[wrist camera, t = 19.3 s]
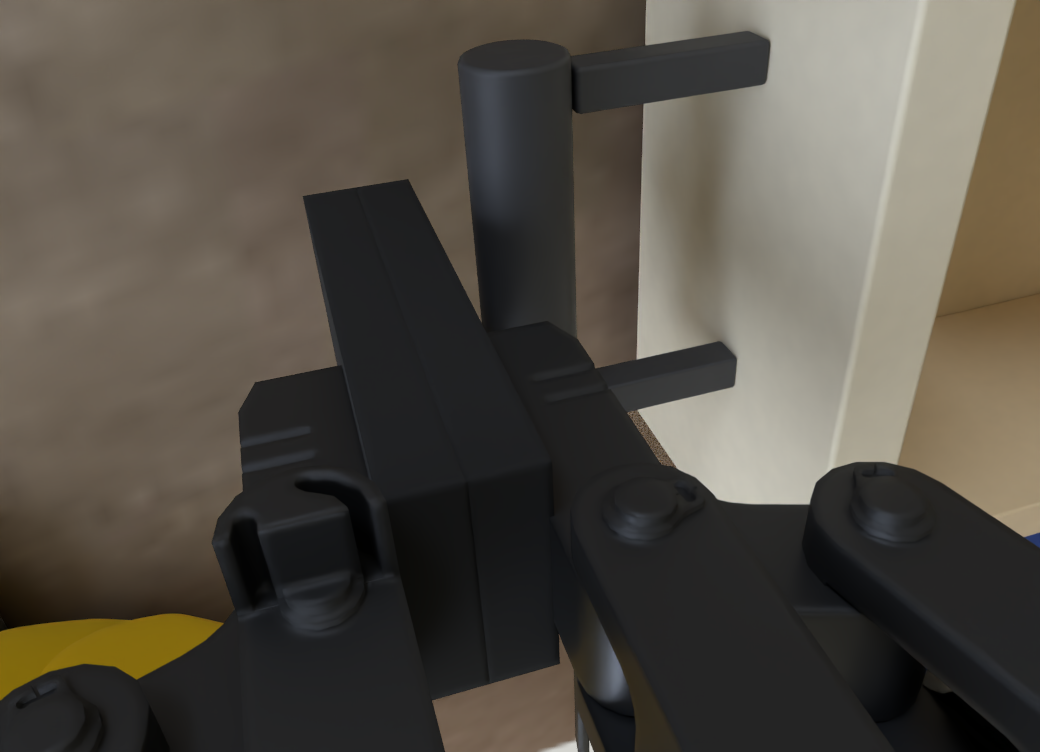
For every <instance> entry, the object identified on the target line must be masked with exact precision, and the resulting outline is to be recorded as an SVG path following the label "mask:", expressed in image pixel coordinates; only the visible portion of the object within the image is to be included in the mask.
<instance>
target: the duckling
mask: <svg viewBox="0 0 1040 752" xmlns="http://www.w3.org/2000/svg"><path fill="white" fill-rule="evenodd" d="M223 624H224V623H221V622H216V621H212V620H208V619H204V618H199V617H195V616H190V615H185V614H160V615H155V616H149V617H144V618H139V619H134V620H119V619H84V620H71V621H62V622H53V623H43V624H36V625H29V626H23V627H17V628H12V629H8V630H4V631H1V632H0V700H2V699H3V698H4V697H5V696H6V695H8V694H9V693H10V692H11V691H12V690H14V689H16V688H18V687H20V686H22V685H24V684H26V683H28V682H30V681H32V680H33V679H35V678H37V677H39V676H41V675H43V674H45V673H47V672H50V671H54V670H58V669H63V668H67V667H72V666H76V665H80V664H94V665H104V666H115V667H117V668H119V669H120V670H122V671H123V672H125V673H127V674H128V675H130V676H132V677H133V678H135V679H136V680H137V679H139V678H141V677H142V676H144V675H146V674H148V673H150V672H152V671H154V670H156V669H157V668H159V667H161V666H163V665H165V664H167V663H169V662H171V661H172V660H174V659H176V658H178V657H180V656H182V655H183V654H185V653H186V652H188V651H190V650H191V649H193V648H194V647H196V646H197V645H199V644H200V643H202V642H204V641H205V640H206V639H207V638H208V637H210V636H211V635H212V634H213V633H214V632H215V631H216V630H217V629H218V628H219V627H220V626H222V625H223Z"/></svg>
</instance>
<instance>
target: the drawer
mask: <svg viewBox="0 0 1040 752" xmlns="http://www.w3.org/2000/svg"><path fill="white" fill-rule="evenodd" d="M458 73H459V84H460V94H461V105H462V116H463V126H464V137H465V148H466V159H467V169H468V180H469V191H470V201H471V212H472V223H473V233H474V244H475V255H476V265H477V276H478V287H479V297H480V308H481V319H482V325H483V327H484V329H485V331H486V333H489V332H494V331H499V330H504V329H509V328H514V327H519V326H524V325H529V324H534V323H538V322H543V321H548V322H550V323H552V324H553V325H555V326H557V327H558V328H560V329H562V330H563V331H565V332H567V333H568V334H570V335H572V336H573V337H575V338H577V326H576V277H575V229H574V180H573V131H572V109H573V110H574V111H575V112H576V113H579V114H583V113H589V112H596V111H602V110H608V109H615V108H621V107H627V106H633V105H640V104H644V106H643V143H642V180H641V217H640V254H639V292H638V329H637V360H632V361H628V362H623V363H619V364H614V365H610V366H605V367H601V368H596V369H598V370H599V372H600V373H601V375H602V376H603V378H604V379H605V381H606V382H607V385H608V389H611V390H612V391H613V393H614V394H615V396H616V397H617V399H618V400H619V402H620V403H621V405H622V406H623V408H624V409H625V411H626V412H630V411H634V410H637V411H638V412H639V413H640V415H641V416H642V418H643V419H644V421H645V422H646V424H647V425H648V427H649V428H650V429H651V431H652V432H653V434H654V435H655V437H656V438H657V440H658V441H659V443H660V444H661V445H662V447H663V448H664V450H665V451H666V453H667V454H668V456H669V457H670V459H671V460H672V461H673V463H674V464H675V466H676V467H677V469H678V470H680V471H683V472H685V473H687V474H689V475H691V476H694V477H696V478H697V479H698V480H699V481H700V482H701V483H702V484H703V485H704V486H705V487H706V488H708V489H709V490H710V491H711V492H712V493H713V494H714V496H715V497H716V498H717V499H718V500H722V501H726V502H733V503H744V504H810V499H811V496H812V493H813V490H814V487H815V484H816V482H817V481H818V480H819V479H820V478H822V477H823V476H824V475H825V474H826V473H828V472H829V471H830V470H831V469H833V468H837V467H840V466H843V465H847V464H850V463H854V462H887V463H891V464H896V465H900V466H904V467H908V468H912V469H916V470H918V471H920V472H922V473H924V474H926V475H928V476H930V477H932V478H934V479H936V480H938V481H940V482H942V483H943V484H945V485H946V486H948V487H949V488H951V489H952V490H954V491H955V492H957V493H958V494H960V495H961V496H963V497H964V498H966V499H967V500H969V501H970V502H972V503H973V504H975V505H976V506H978V507H979V508H981V509H982V510H984V511H985V512H987V513H988V514H990V515H991V516H993V517H994V518H996V519H997V520H999V521H1000V522H1002V523H1003V524H1005V525H1006V526H1008V527H1009V528H1011V529H1012V530H1014V531H1015V532H1017V533H1018V534H1020V535H1021V536H1023V537H1026V536H1030V535H1033V534H1036V533H1040V0H646V31H645V46H639V47H632V48H625V49H618V50H611V51H604V52H597V53H590V54H583V55H577V56H570V54H569V51H568V50H567V49H566V48H565V47H563V46H561V45H558V44H555V43H551V42H547V41H540V40H506V41H499V42H493V43H488V44H484V45H481V46H478V47H475V48H472V49H470V50H468V51H466V52H464V53H463V54H462V55H461V56H460V58H459V61H458Z"/></svg>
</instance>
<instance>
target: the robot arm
mask: <svg viewBox="0 0 1040 752" xmlns="http://www.w3.org/2000/svg"><path fill="white" fill-rule="evenodd" d="M303 199H304V204H305V209H306V214H307V219H308V224H309V229H310V234H311V238H312V243H313V248H314V253H315V258H316V263H317V268H318V273H319V278H320V283H321V287H322V292H323V297H324V302H325V307H326V312H327V317H328V322H329V327H330V332H331V336H332V341H333V346H334V351H335V356H336V361H337V365H338V366H334V367H330V368H325V369H320V370H315V371H310V372H305V373H300V374H295V375H290V376H285V377H280V378H275V379H270V380H265V381H260V382H255V384H254V386H253V387H252V389H251V391H250V393H249V394H248V396H247V398H246V400H245V401H244V403H243V405H242V407H241V408H240V410H239V412H238V415H239V431H240V444H241V465H242V471H243V474H242V481H243V492H242V493H240V494H239V495H237V496H236V497H235V498H234V500H233V501H232V502H231V503H230V504H229V506H228V507H227V508H226V509H225V511H224V512H223V513H222V514H221V516H220V517H219V518H218V521H217V525H216V528H215V532H214V536H213V540H212V545H213V548H214V551H215V553H216V556H217V559H218V562H219V565H220V568H221V570H222V573H223V576H224V579H225V582H226V585H227V587H228V590H229V593H230V596H231V599H232V602H233V605H234V607H235V609H234V611H233V612H232V613H231V615H230V616H229V617H228V619H227V620H226V621H225V623H224V624H223V625H222V626H220V627H219V628H218V629H217V630H216V631H215V632H214V633H213V634H212V635H211V636H210V637H208V638H207V639H206V640H205V641H204V642H202V643H200V644H199V645H197V646H196V647H194V648H193V649H191V650H190V651H188V652H186V653H185V654H183V655H182V656H180V657H178V658H176V659H174V660H172V661H171V662H169V663H167V664H165V665H163V666H161V667H159V668H157V669H156V670H154V671H152V672H150V673H148V674H146V675H144V676H142V677H141V678H139V679H137V680H136V679H135V678H133V677H132V676H130V675H128V674H127V673H125V672H123V671H122V670H120V669H119V668H117V667H115V666H104V665H94V664H80V665H76V666H72V667H67V668H63V669H58V670H54V671H50V672H47V673H45V674H43V675H41V676H39V677H37V678H35V679H33V680H32V681H30V682H28V683H26V684H24V685H22V686H20V687H18V688H16V689H14V690H12V691H11V692H10V693H9V694H8V695H6V696H5V697H4V698H3V699H2V700H0V752H445V750H444V746H443V742H442V738H441V734H440V730H439V726H438V722H437V718H436V715H435V711H434V707H433V703H432V700H435V699H438V698H442V697H445V696H449V695H452V694H456V693H459V692H463V691H466V690H470V689H473V688H477V687H480V686H484V685H487V684H491V683H494V682H498V681H501V680H505V679H508V678H512V677H515V676H519V675H522V674H526V673H529V672H533V671H536V670H540V669H543V668H547V667H550V666H554V665H557V664H560V657H559V635H560V637H561V640H562V642H563V645H564V647H565V649H566V652H567V654H568V657H569V659H570V661H571V664H572V666H573V669H574V692H575V736H576V742H577V748H578V752H589V740H590V743H591V745H592V748H593V750H594V752H1040V548H1039V547H1038V546H1036V545H1035V544H1033V543H1032V542H1030V541H1029V540H1027V539H1026V538H1024V537H1023V536H1021V535H1020V534H1018V533H1017V532H1015V531H1014V530H1012V529H1011V528H1009V527H1008V526H1006V525H1005V524H1003V523H1002V522H1000V521H999V520H997V519H996V518H994V517H993V516H991V515H990V514H988V513H987V512H985V511H984V510H982V509H981V508H979V507H978V506H976V505H975V504H973V503H972V502H970V501H969V500H967V499H966V498H964V497H963V496H961V495H960V494H958V493H957V492H955V491H954V490H952V489H951V488H949V487H948V486H946V485H945V484H943V483H942V482H940V481H938V480H936V479H934V478H932V477H930V476H928V475H926V474H924V473H922V472H920V471H918V470H916V469H912V468H908V467H904V466H900V465H896V464H891V463H887V462H854V463H850V464H847V465H843V466H840V467H837V468H833V469H831V470H830V471H829V472H828V473H826V474H825V475H824V476H823V477H822V478H820V479H819V480H818V481H817V482H816V484H815V487H814V490H813V493H812V496H811V499H810V504H744V503H733V502H726V501H722V500H718V499H717V498H716V497H715V496H714V494H713V493H712V492H711V491H710V490H709V489H708V488H706V487H705V486H704V485H703V484H702V483H701V482H700V481H699V480H698V479H697V478H696V477H694V476H691V475H689V474H687V473H685V472H683V471H680V470H678V469H676V468H674V467H671V466H665V465H661V464H660V462H659V461H658V459H657V458H656V456H655V455H654V453H653V452H652V450H651V449H650V447H649V446H648V444H647V443H646V441H645V440H644V438H643V437H642V435H641V434H640V432H639V431H638V429H637V428H636V426H635V425H634V423H633V422H632V420H631V418H630V417H629V415H628V414H627V412H626V411H625V409H624V408H623V406H622V405H621V403H620V402H619V400H618V399H617V397H616V396H615V394H614V393H613V391H612V390H611V389H608V385H607V382H606V381H605V379H604V378H603V376H602V375H601V373H600V372H599V370H598V369H595V367H594V363H593V361H592V360H591V358H590V357H589V355H588V354H587V352H586V351H585V349H584V348H583V346H582V345H581V343H580V342H579V340H578V339H577V338H575V337H573V336H572V335H570V334H568V333H567V332H565V331H563V330H562V329H560V328H558V327H557V326H555V325H553V324H552V323H550V322H548V321H543V322H538V323H534V324H529V325H524V326H519V327H514V328H509V329H504V330H499V331H494V332H489V333H486V331H485V329H484V327H483V325H482V323H481V321H480V319H479V317H478V315H477V313H476V311H475V309H474V307H473V305H472V303H471V301H470V300H469V298H468V296H467V294H466V292H465V290H464V288H463V286H462V284H461V282H460V280H459V278H458V276H457V274H456V272H455V270H454V268H453V266H452V264H451V262H450V260H449V258H448V256H447V255H446V253H445V251H444V249H443V247H442V245H441V243H440V241H439V239H438V237H437V235H436V233H435V231H434V229H433V227H432V225H431V223H430V221H429V219H428V217H427V215H426V213H425V211H424V210H423V208H422V206H421V204H420V202H419V200H418V198H417V196H416V194H415V192H414V190H413V188H412V186H411V184H410V182H409V180H408V179H407V180H400V181H394V182H388V183H382V184H375V185H369V186H363V187H357V188H350V189H344V190H338V191H332V192H325V193H319V194H313V195H307V196H303Z"/></svg>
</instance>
